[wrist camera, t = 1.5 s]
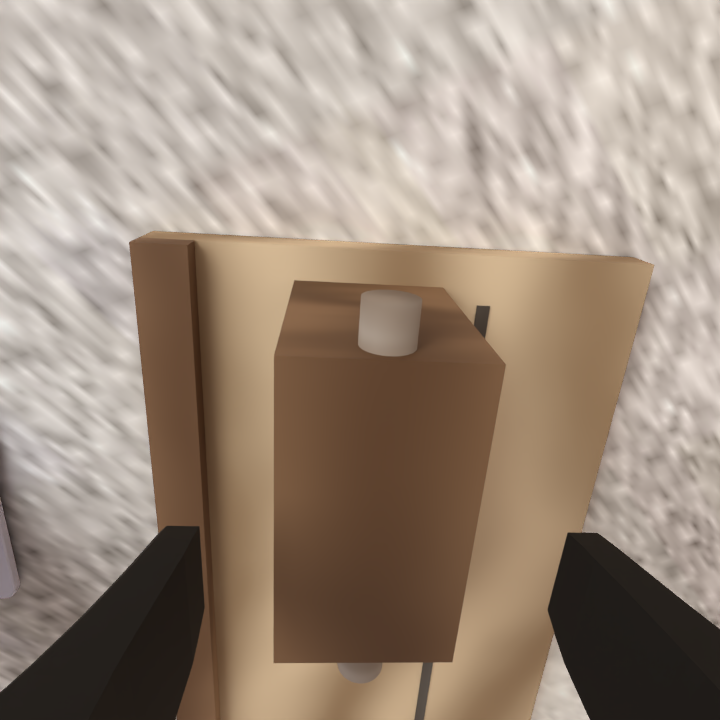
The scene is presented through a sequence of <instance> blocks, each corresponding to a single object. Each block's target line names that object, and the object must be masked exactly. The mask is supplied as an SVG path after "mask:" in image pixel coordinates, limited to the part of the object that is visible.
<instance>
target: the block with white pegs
mask: <svg viewBox="0 0 720 720" xmlns="http://www.w3.org/2000/svg"><path fill="white" fill-rule="evenodd" d="M505 367H506V364H505V363H504V362H503V360H502V359H501V358H500V357H499V355H498V354H497V353H496V352H495V351H494V349H493V348H492V347H491V346H490V344H489V343H488V342H487V341H486V340H485V338H484V337H483V336H482V335H481V333H480V332H479V331H478V330H477V329H476V327H475V326H474V325H473V324H472V322H471V321H470V320H469V319H468V318H467V316H466V315H465V314H464V313H463V311H462V310H461V309H460V308H459V306H458V305H457V304H456V303H455V302H454V300H453V299H452V298H451V297H450V295H449V294H448V293H447V292H446V291H445V289H444V288H443V287H422V286H402V285H381V284H361V283H340V282H320V281H299V280H294V283H293V287H292V291H291V294H290V298H289V302H288V305H287V309H286V313H285V316H284V320H283V324H282V327H281V331H280V335H279V339H278V342H277V346H276V350H275V353H274V627H273V663H337V665H338V669H339V671H340V673H341V674H342V675H343V676H344V677H345V678H346V679H347V680H349V681H351V682H354V683H368V682H370V681H372V680H374V679H375V678H376V677H377V676H378V675H379V674H380V672H381V669H382V663H435V662H453V656H454V651H455V645H456V640H457V634H458V629H459V623H460V617H461V612H462V606H463V601H464V595H465V590H466V584H467V579H468V573H469V567H470V562H471V556H472V551H473V545H474V540H475V534H476V529H477V523H478V517H479V512H480V506H481V501H482V495H483V490H484V484H485V479H486V473H487V467H488V462H489V456H490V451H491V445H492V440H493V434H494V429H495V423H496V417H497V412H498V406H499V401H500V395H501V390H502V384H503V379H504V373H505Z"/></svg>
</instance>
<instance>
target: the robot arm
mask: <svg viewBox="0 0 720 720" xmlns="http://www.w3.org/2000/svg"><path fill="white" fill-rule="evenodd" d="M19 587H20V580H19V576H18V572H17V567H16V563H15V559H14V554H13V550H12V546H11V542H10V537H9V533H8V529H7V524H6V520H5V516H4V512H3V507H2V503H1V499H0V599H4V598H10V597H12V596H13V595H14V594H15V593H16V591H17V590H18V588H19ZM204 609H205V604H204V589H203V573H202V558H201V542H200V526H166V527H165V528H164V529H162V530H161V531H160V532H159V533H158V535H157V536H156V537H155V538H154V539H153V540H152V541H151V543H150V544H149V545H148V546H147V547H146V548H145V549H144V550H143V552H142V553H141V554H140V555H139V556H138V557H137V558H136V559H135V561H134V562H133V563H132V564H131V565H130V566H129V567H128V568H127V569H126V570H125V572H124V573H123V574H122V575H121V576H120V577H119V578H118V579H117V580H116V581H115V582H114V583H113V584H112V586H111V587H110V588H109V589H108V590H107V591H106V592H105V593H104V594H103V595H102V596H101V597H100V598H99V599H98V600H97V601H96V602H95V603H94V604H93V605H92V606H91V607H90V608H89V609H88V611H87V612H86V613H85V614H84V615H83V616H82V617H81V618H80V619H79V620H78V621H77V622H76V623H75V624H74V625H73V626H72V627H70V628H69V629H68V630H67V631H66V632H65V633H64V634H63V635H62V636H61V637H60V638H59V639H58V640H57V641H56V642H55V643H54V644H53V645H52V646H51V647H50V648H49V649H47V650H46V651H45V652H44V653H43V654H42V655H41V656H40V657H39V658H38V659H37V660H36V661H35V662H34V663H33V664H32V665H31V666H29V667H28V668H27V669H26V670H25V671H24V672H23V673H22V674H21V675H19V676H18V677H17V678H16V679H15V680H14V681H13V682H12V683H10V684H9V685H8V686H7V687H6V688H5V689H4V690H2V691H1V692H0V720H175V719H176V716H177V713H178V709H179V706H180V703H181V700H182V697H183V694H184V691H185V687H186V684H187V681H188V678H189V675H190V672H191V668H192V665H193V661H194V657H195V652H196V648H197V643H198V638H199V633H200V628H201V624H202V619H203V614H204ZM547 610H548V614H549V617H550V620H551V623H552V627H553V630H554V633H555V636H556V639H557V642H558V645H559V648H560V651H561V654H562V657H563V660H564V663H565V665H566V668H567V670H568V672H569V674H570V677H571V679H572V681H573V683H574V686H575V688H576V690H577V692H578V694H579V697H580V699H581V701H582V703H583V705H584V708H585V710H586V712H587V714H588V716H589V718H590V720H720V629H719V628H718V627H716V626H715V625H714V624H712V623H711V622H710V621H708V620H707V619H706V618H705V617H703V616H702V615H701V614H699V613H698V612H697V611H696V610H694V609H693V608H692V607H690V606H689V605H688V604H687V603H685V602H684V601H683V600H682V599H680V598H679V597H678V596H677V595H675V594H674V593H673V592H671V591H670V590H669V589H668V588H666V587H665V586H664V585H663V584H662V583H660V582H659V581H658V580H657V579H655V578H654V577H653V576H652V575H650V574H649V573H648V572H647V571H645V570H644V569H643V568H642V567H640V566H639V565H638V564H637V563H635V562H634V561H633V560H632V559H630V558H629V557H628V556H627V555H625V554H624V553H623V552H622V551H620V550H619V549H618V548H617V547H615V546H614V545H613V544H611V543H610V542H609V541H608V540H606V539H605V538H603V537H602V536H601V535H599V534H598V533H571V532H568V533H567V537H566V540H565V544H564V548H563V552H562V556H561V559H560V563H559V567H558V571H557V575H556V579H555V582H554V586H553V590H552V594H551V598H550V601H549V605H548V609H547Z"/></svg>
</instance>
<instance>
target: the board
mask: <svg viewBox="0 0 720 720" xmlns="http://www.w3.org/2000/svg"><path fill="white" fill-rule="evenodd" d="M129 245H130V255H131V265H132V275H133V285H134V295H135V305H136V315H137V325H138V334H139V344H140V354H141V364H142V374H143V384H144V394H145V404H146V414H147V424H148V434H149V444H150V454H151V464H152V474H153V484H154V494H155V504H156V513H157V523H158V533H159V532H160V531H161V530H162V529H164V528H165V527H166V526H200V542H201V558H202V573H203V589H204V604H205V609H204V614H203V619H202V624H201V628H200V633H199V638H198V643H197V648H196V652H195V657H194V661H193V665H192V668H191V672H190V675H189V678H188V681H187V684H186V687H185V691H184V694H183V697H182V700H181V703H180V706H179V709H178V713H177V720H530V718H531V715H532V711H533V707H534V704H535V700H536V696H537V693H538V689H539V685H540V682H541V678H542V674H543V671H544V667H545V663H546V660H547V656H548V652H549V649H550V645H551V641H552V638H553V634H554V630H553V627H552V623H551V620H550V617H549V614H548V610H547V609H548V605H549V601H550V598H551V594H552V590H553V586H554V582H555V579H556V575H557V571H558V567H559V563H560V559H561V556H562V552H563V548H564V544H565V540H566V537H567V533H568V532H571V533H581V532H582V528H583V524H584V521H585V517H586V513H587V510H588V506H589V502H590V499H591V495H592V491H593V488H594V484H595V480H596V477H597V473H598V469H599V466H600V462H601V458H602V455H603V451H604V447H605V444H606V440H607V436H608V433H609V429H610V425H611V422H612V418H613V414H614V411H615V407H616V404H617V400H618V396H619V393H620V389H621V385H622V382H623V378H624V374H625V371H626V367H627V363H628V360H629V356H630V352H631V349H632V345H633V341H634V338H635V334H636V330H637V327H638V323H639V319H640V316H641V312H642V308H643V305H644V301H645V297H646V294H647V290H648V286H649V283H650V279H651V275H652V272H653V268H654V265H653V264H650V263H647V262H645V261H642V260H639V259H636V258H633V257H619V256H601V255H582V254H564V253H546V252H527V251H509V250H491V249H472V248H454V247H436V246H417V245H399V244H381V243H362V242H344V241H326V240H307V239H289V238H271V237H252V236H234V235H216V234H197V233H179V232H161V231H152V232H150V233H148V234H146V235H143V236H141V237H139V238H137V239H135V240H133V241H130V242H129ZM294 280H299V281H320V282H340V283H361V284H381V285H402V286H422V287H443V288H444V289H445V291H446V292H447V293H448V294H449V295H450V297H451V298H452V299H453V300H454V302H455V303H456V304H457V305H458V306H459V308H460V309H461V310H462V311H463V313H464V314H465V315H466V316H467V318H468V319H469V320H470V321H471V322H472V324H473V325H474V326H475V327H476V329H477V330H478V331H479V332H480V333H481V335H482V336H483V337H484V338H485V340H486V341H487V342H488V343H489V344H490V346H491V347H492V348H493V349H494V351H495V352H496V353H497V354H498V355H499V357H500V358H501V359H502V360H503V362H504V363H505V364H506V367H505V373H504V379H503V384H502V390H501V395H500V401H499V406H498V412H497V417H496V423H495V429H494V434H493V440H492V445H491V451H490V456H489V462H488V467H487V473H486V479H485V484H484V490H483V495H482V501H481V506H480V512H479V517H478V523H477V529H476V534H475V540H474V545H473V551H472V556H471V562H470V567H469V573H468V579H467V584H466V590H465V595H464V601H463V606H462V612H461V617H460V623H459V629H458V634H457V640H456V645H455V651H454V656H453V662H435V663H382V669H381V672H380V674H379V675H378V676H377V677H376V678H375V679H374V680H372V681H370V682H368V683H354V682H351V681H349V680H347V679H346V678H345V677H344V676H343V675H342V674H341V673H340V671H339V669H338V665H337V663H273V627H274V353H275V350H276V346H277V342H278V339H279V335H280V331H281V327H282V324H283V320H284V316H285V313H286V309H287V305H288V302H289V298H290V294H291V291H292V287H293V283H294Z"/></svg>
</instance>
